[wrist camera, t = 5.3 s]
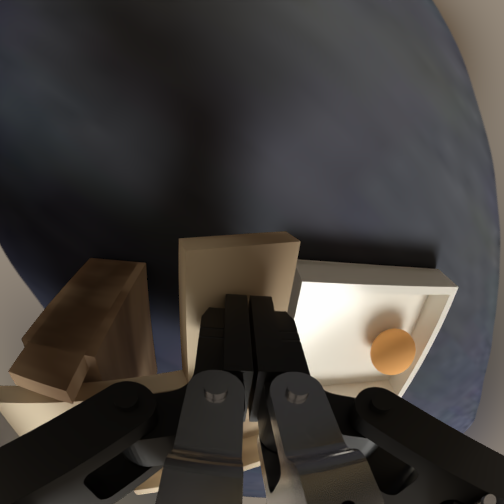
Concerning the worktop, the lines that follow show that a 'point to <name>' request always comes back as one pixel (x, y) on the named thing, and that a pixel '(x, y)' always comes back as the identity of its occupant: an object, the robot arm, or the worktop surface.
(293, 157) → the worktop surface
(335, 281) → the dish
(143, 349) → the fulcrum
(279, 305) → the lever
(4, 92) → the worktop surface
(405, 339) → the ball
